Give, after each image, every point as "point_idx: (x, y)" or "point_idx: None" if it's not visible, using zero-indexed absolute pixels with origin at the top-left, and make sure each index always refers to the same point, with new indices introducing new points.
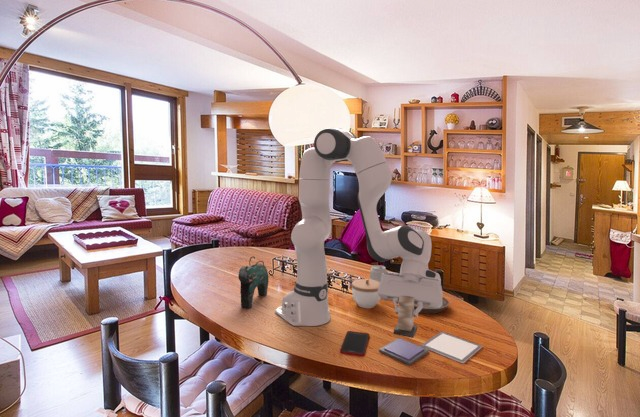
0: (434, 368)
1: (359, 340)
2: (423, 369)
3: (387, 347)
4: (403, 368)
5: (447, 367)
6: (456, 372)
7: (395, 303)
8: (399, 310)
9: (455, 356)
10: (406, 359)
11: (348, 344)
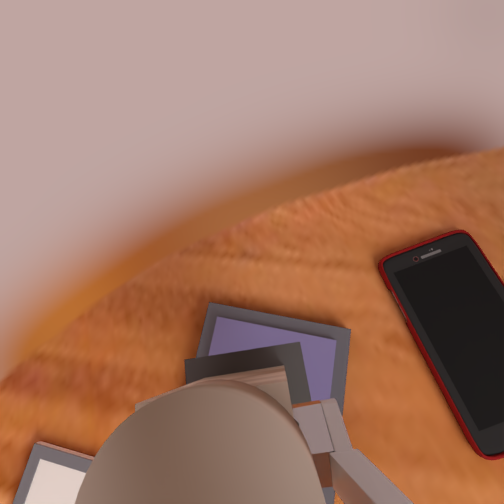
0: (132, 338)
1: (470, 358)
2: (164, 308)
3: (326, 355)
4: (223, 273)
5: (92, 373)
6: (62, 358)
7: (370, 483)
8: (274, 377)
9: (64, 476)
10: (227, 318)
11: (480, 293)
